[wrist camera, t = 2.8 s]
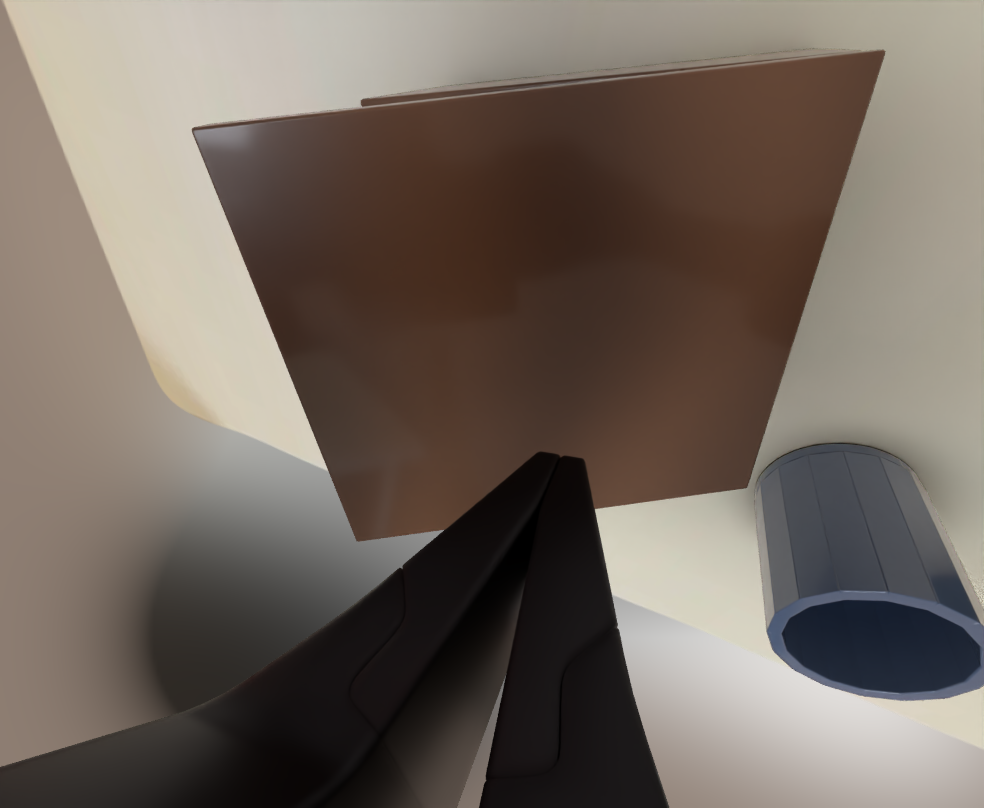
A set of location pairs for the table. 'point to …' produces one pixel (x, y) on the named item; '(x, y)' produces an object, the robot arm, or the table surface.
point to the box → (587, 76)
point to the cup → (864, 577)
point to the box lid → (543, 275)
